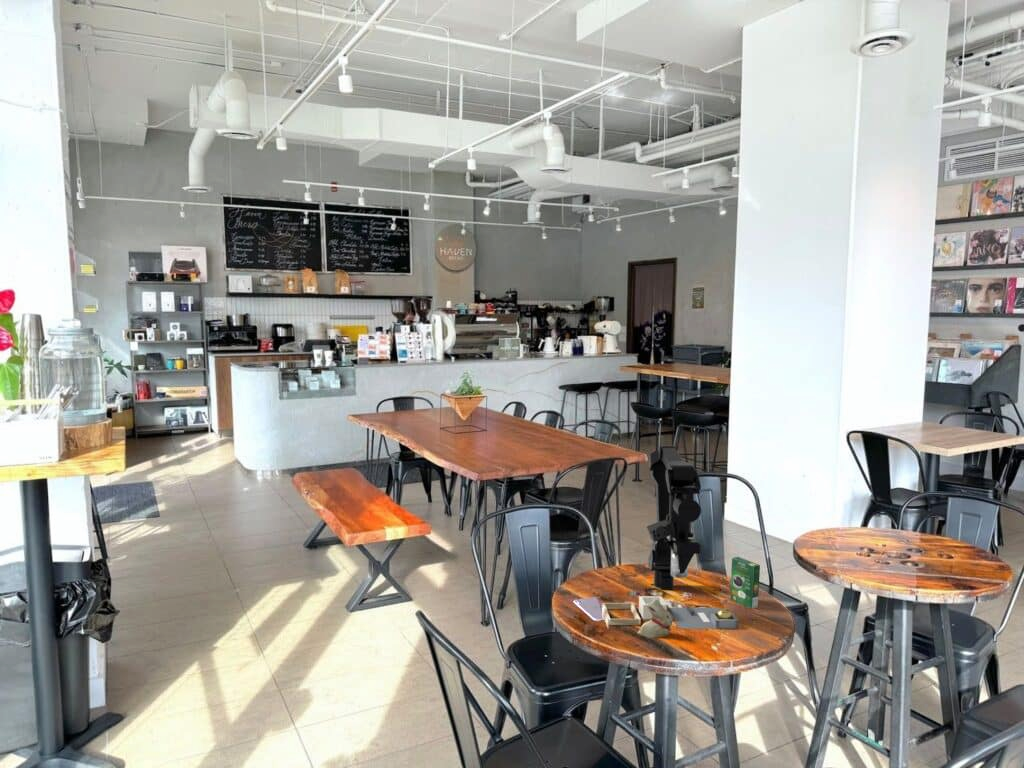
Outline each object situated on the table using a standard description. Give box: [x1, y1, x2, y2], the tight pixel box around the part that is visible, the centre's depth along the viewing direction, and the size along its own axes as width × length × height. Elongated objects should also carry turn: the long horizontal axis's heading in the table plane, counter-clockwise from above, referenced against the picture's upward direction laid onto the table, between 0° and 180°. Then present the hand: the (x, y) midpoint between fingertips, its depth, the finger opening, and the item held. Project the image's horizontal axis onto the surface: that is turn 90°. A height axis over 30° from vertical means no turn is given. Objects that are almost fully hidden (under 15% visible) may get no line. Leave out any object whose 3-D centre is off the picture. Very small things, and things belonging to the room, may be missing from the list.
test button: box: [718, 608, 732, 619], centre depth 183 cm, size 3×3×2 cm
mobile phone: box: [572, 596, 605, 622], centre depth 195 cm, size 8×1×15 cm
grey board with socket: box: [666, 603, 740, 630], centre depth 187 cm, size 14×16×3 cm
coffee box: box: [729, 556, 761, 610], centre depth 196 cm, size 8×3×13 cm, turn 29°
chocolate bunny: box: [637, 599, 674, 639], centre depth 176 cm, size 6×8×10 cm
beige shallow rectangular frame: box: [601, 602, 642, 631], centre depth 187 cm, size 11×8×3 cm
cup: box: [638, 595, 668, 620], centre depth 188 cm, size 6×6×5 cm
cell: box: [671, 550, 689, 579], centre depth 189 cm, size 4×4×7 cm
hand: (679, 570), depth 190 cm, fingers closed on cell, 4 cm apart
